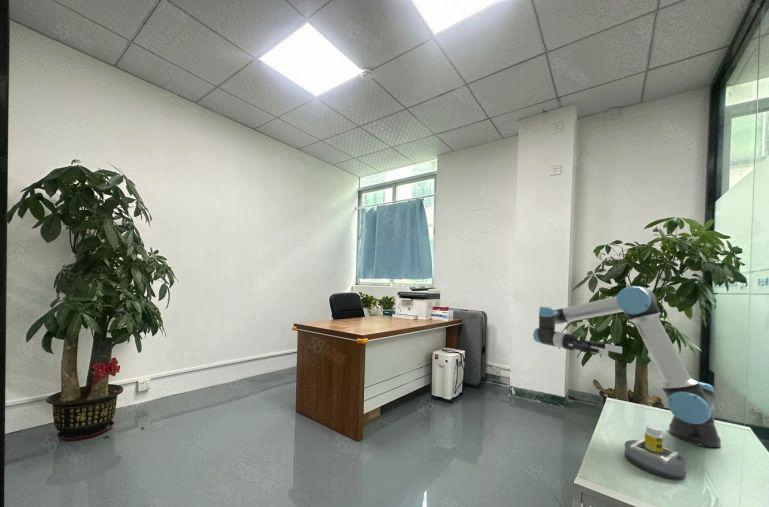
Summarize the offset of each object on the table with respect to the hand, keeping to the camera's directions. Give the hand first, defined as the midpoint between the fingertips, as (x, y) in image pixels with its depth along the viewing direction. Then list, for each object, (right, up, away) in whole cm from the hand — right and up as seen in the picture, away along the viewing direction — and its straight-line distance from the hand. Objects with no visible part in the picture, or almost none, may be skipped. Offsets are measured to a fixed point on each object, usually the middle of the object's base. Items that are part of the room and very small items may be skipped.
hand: (615, 351), depth 137 cm
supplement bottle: (-8, -26, -29) cm, 40 cm away
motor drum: (-8, -30, -29) cm, 43 cm away
